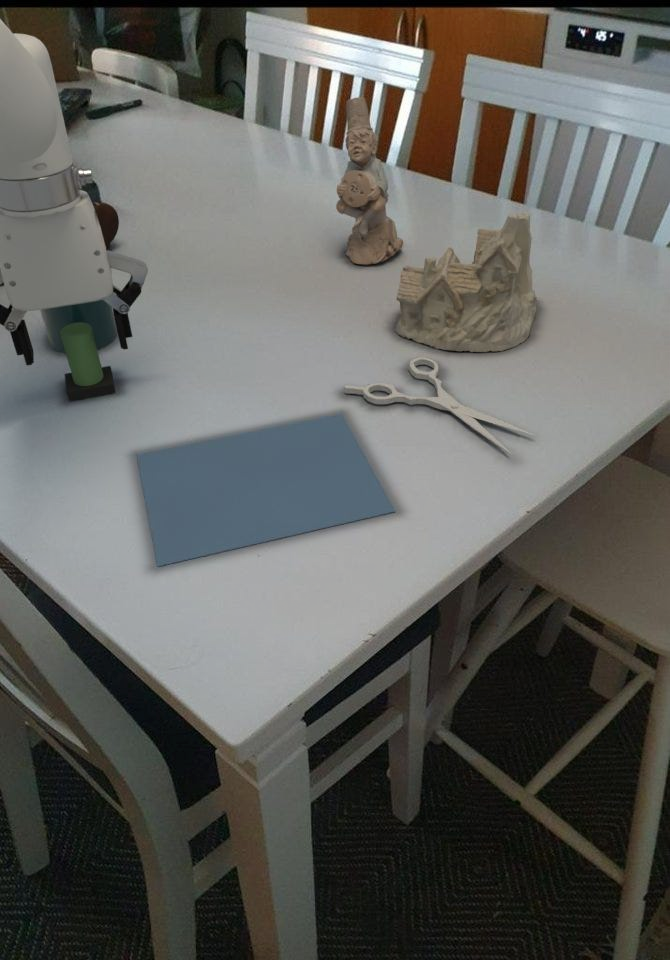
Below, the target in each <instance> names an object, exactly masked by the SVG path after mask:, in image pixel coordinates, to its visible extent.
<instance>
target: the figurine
mask: <svg viewBox="0 0 670 960" xmlns="http://www.w3.org/2000/svg"><path fill="white" fill-rule="evenodd" d="M345 110H346V127H347V128H346V130H347V131H346V133H345V135H346V137H345V148H346V150H347V155H348V157H349V160H348V162H347V165H346V169H345V171H344V173H343V176H342V177H341V179H340V183H339V184H337V186H336V193H337V195H338V198H339V199H338V200H337V201H336V205H335V207H336V208H335V209H336V211H337V212H338V213H339V214H341V215H346V216H349V217H350V218H354V219H355V223H354V224H353V227H351V234H349V236H348V237H347V241H346V244H347V246H348V248H347V250H346V252H345V255H346V256H347V257H348V258H349V260H350V261H351V262H352V263H353V264H355V265H372V264H374V265H375V264H378V263H383V262H384V261H386V260H388V259H390V258H391V257H393V256H394V255H395V254H396V253H397V252H399V251H402V249H403V246H404V240H403V239H402V238H400V237H398V232H397V227H396V223H395V221H394V220H393V219H392V218H390V217H389V216H387V208H386V205H387V203H388V201H389V196H390V195H389V194H388V189H389V183H388V178H387V175H386V172H385V169H384V167H383V164H382V160H381V159H379V158H377V156H376V153H377V150H378V142H379V138H378V135H377V133H375V132H374V129H373V127H372V124H371V121H370V120H371V119H370V115H369V109H368V104H367V100H366V98H365V97H359V96H358V97H353V98H350V99H347V101H346V104H345Z"/></svg>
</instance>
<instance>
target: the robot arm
mask: <svg viewBox="0 0 670 960" xmlns="http://www.w3.org/2000/svg"><path fill="white" fill-rule="evenodd" d="M60 101H61V100H60V97H59V91H58V87H57V82H56V79H55V74H54V69H53V64H52V61H51V57H50V54H49V51H48V49H47V47H46V46H45V44H44V42H42V41H41V40H40V39H39V38H37V37H36V36H34V35H29V34H27V33H26V34H25V33H13V32H12V30H11V29H10V28H9V27H8V26H7V25H6V24H5V22H4V21H3V20H2V19H1V18H0V286H1V285H2V284H3V285H4V289H5V293H6V295H7V299H8V302H9V304H8V306H7V307H6V306H4V305H3V304H1V303H0V325H1V326H3V327H4V329H5V331H7V332H9V333H10V336H11V339H12V343H13V346H14V349H15V352H16V353H15V354H16V356H22V355H23V359H24V362H25V365H26V366H32V365H33V364H34V363H35V361H34V358H35V357H34V356H35V355H34V347H33V344H32V341H31V338H30V334H29V331H28V326H27V324H26V320H25V319H24V317H25V315H26V313H27V312H32V311H33V312H34V311H41V310H42V309H49V308H56V307H63V306H69V305H76V304H82V303H89V302H95V301H99V300H103V301H105V302H106V303H107V304H109V305H110V306H111V307H112V309H113V313H114V318H115V323H116V327H117V332H118V334H117V337H118V341H119V346H120V349H121V350H123V351H125V350H128V349H129V347H128V342H127V339H129V338H133V332H132V328H131V327H132V326H131V323H130V322H131V321H130V317H129V312H130V310H131V307H132V305H134V303H135V302H136V300H137V299H138V297H139V296H140V295H141V293H142V289H143V286H144V284H145V280H146V278H147V275H148V272H149V270H148V266H147V263H146V262H145V261H143V260H140V259H136V258H133V257H130V256H127V255H124V254H121V253H118V252H116V251H115V252H114V251H112V250H109V249H107V248H106V246H105V242H104V239H103V235H102V231H101V227H100V224H99V221H98V218H97V215H96V212H95V209H94V207H93V205H94V203H93V202H92V200H91V198H90V195H89V193H88V192H87V191H85V190H83V186H87V184H94V179H93V173H92V169H91V167H86V168H83V167H81V166H80V167H78V165H77V164H74V160H73V156H72V151H71V146H70V142H69V137H68V133H67V128H66V124H65V119H64V114H63V109H62V106H61V102H60ZM112 269H115V270H118V271H120V272H124V273H128V274H129V275H130V278H129V280H128V282H127V283H126V284H125V285H124V287H123V288H122V289H120V288H119V287H117V286H116V285H115V284H114V283H113V281H114V280H113V275H112Z"/></svg>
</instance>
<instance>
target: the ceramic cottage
mask: <svg viewBox="0 0 670 960" xmlns="http://www.w3.org/2000/svg"><path fill="white" fill-rule="evenodd" d="M532 239H533V238H532V233H531V214H530V213H528V212H523V211H522V212H521V211H519V212H517V213H509V214H508V215H507V216H506V219H505V222H504V224H503V226H502V228H501V229H488V228H478V229H477V238H476V245H475V251H474V255H473V261H472V262H471V263H461V261H460V259H459V258H458V256H457V254H456V253H455V251H454V249H453V248H452V247H448V248H447V249H446V251H445V252H444V253H443V255H442V256H441V257H440V258H439V259H438V263H437V258H436V257H435V256H434V257H429V256H425V259H424V265H423V267H416V266H411V265H409V264H406V265H404V266H403V267H402V271H401V272H400V279H399V284H398V290H397V295H396V301H398V302H399V309H400V317H399V318H398V320H397V323H396V325H395V332H396V333H397V334H398V336H401V337H402V338H404V339H405V338H407V339H408V340H410V339H412V340H413V341H415V342H416V343H420V344H424V345H429V347H431V348H432V347H434V348H435V349H440V350H444V351H456V352H463V351H464V352H468V351H469V352H470V353H473V352H476V353H488V352H490V351H491V352H492V353H493V352H499V351H500V352H503V351H506V350H509V349H511V348H515V347H516V346H519V345H520V344H522V343H525V341H526V340H527V339H528V338H529V336H530V334H531V333H530V332H531V329H532V325H533V324H534V321H535V317H536V313H537V299H538V297H537V296H536V291H535V290H534V289H533V269H532V266H531V263H530V260H531V259H530V256H531V247H532Z"/></svg>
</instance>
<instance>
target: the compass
mask: <svg viewBox="0 0 670 960" xmlns="http://www.w3.org/2000/svg"><path fill="white" fill-rule="evenodd" d="M92 204H93V207H94V209H95V212H96V215H97V218H98V221H99V224H100V227H101V231H102V235H103V239H104V242H105V246H106V249H107V248H108V247H109V246H110V244H111V243H112V242H113V241H114V240H115V238H116V236H117V234H118V231H119V228H120V227H119V226H120V219H119V214H118V212H117V210H116V209H115V207H113V206H112V205H110V204H108V203H106V202H97V201H93V202H92Z"/></svg>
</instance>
